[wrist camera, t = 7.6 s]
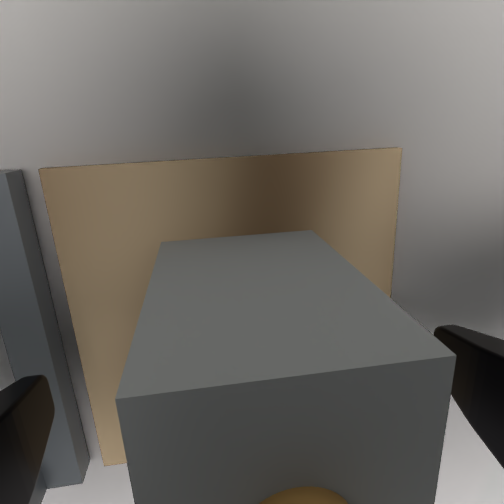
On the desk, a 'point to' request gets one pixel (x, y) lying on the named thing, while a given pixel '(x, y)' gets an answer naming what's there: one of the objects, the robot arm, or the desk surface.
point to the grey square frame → (36, 335)
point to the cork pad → (200, 235)
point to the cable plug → (279, 380)
